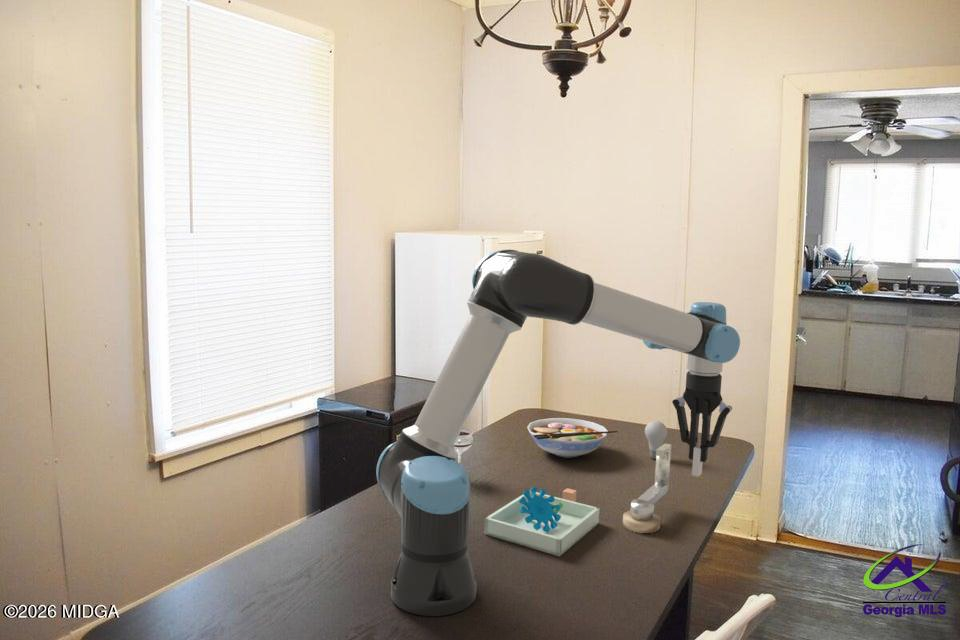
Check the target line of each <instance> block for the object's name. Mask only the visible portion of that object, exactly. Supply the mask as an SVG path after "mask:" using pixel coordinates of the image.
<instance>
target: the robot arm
mask: <svg viewBox="0 0 960 640" xmlns="http://www.w3.org/2000/svg"><path fill="white" fill-rule="evenodd" d="M471 281H472V283H471V284H472V289H473V291H471V294H470V297H469V299H468V300H467V302H466V305H467V308H468V310H469V316H468V317H467V320H466V322H465V323H464V325H463V328H462V329H461V332H460V334H459V336H458V337H457V340H456V341H455V343H454V345H453V347H452V350H451V351H450V353H449V356H448V357H447V360H446V361H445V363H444V365H443V367H442V369H441V372H440V373H439V374H438V377H437V379H436V381H435V383H434V385H433V387H432V388H431V391H430V393H429V395H428V396H427V399H426V401H425V402H424V404H423V407H422V409H421V411H420V412H419V414H418V417H417V418H416V421H415V423H414V424H413V425H411V426H408V427H405V428H403V429H402V431H401V433H400V434H399V436H398V437H397V438H398V439H397V440H396V441H395V442H393V443H390V444H389V445H388V446H387V447H385V448H384V450H383V451H381V454H380V456H379V458H378V459H377V460H378V461H377V464H376V468H375V469H376V473H375V474H376V475H375V476H376V481H377V483H378V486H379V488H380V490H381V493H382V494H383V496H384V497H385V499H387V501H389V503H390V504H391V505H392V507H393V509H395V511H396V512H397V513H398V515H399V517H400V518H401V519H400V520H401V536H400V537H401V541H400V542H401V548H400V549H401V552H400V555H399V558H398V561H397V563H396V566H395V569H394V572H393V575H392V577H391V580H390V598H391V601H392V603H393V604H394V605H395V606H396V607H398V608H399V609H401V610H403V611H405V612H407V613H410V614H413V615H417V616H423V617H424V616H425V617H442V616H443V617H444V616H450V615H453V614H456V613H460V612H461V611H464V610H466V609H467V608H469V607H470V606H471V605H472V604H473V603H474V602H475V600H476V598H477V579H476V577H475V574H474V570H473V567H472V563H471V559H470V556H469V554H468V552H469V551H468V548H469V547H468V546H469V545H468V544H469V521H470V520H469V518H470V516H469V514H470V496H471V485H470V477H469V473H468V470H466V467H464V466H463V465H462V464H461V462H460V463H458V461H456V459H457V458H458V454H457V453H456V451H455V448H454V444H455V442H456V440H457V438H458V436H459V434H460V432H461V430H462V428H463V427H464V426H465V424H466V421H467V419H468V418H469V416H470V414H471V411H472V410H473V408H474V406H475V404H476V402H477V400H478V398H479V395H480V394H481V392H482V390H483V388H484V386H485V384H486V382H487V379H488V378H489V376H490V373H491V372H492V370H493V368H494V366H495V364H496V362H497V360H498V358H499V356H500V354H501V352H502V350H503V348H504V346H505V345H506V342H507V341H508V338H509V336H510V335H511V334H512V333H515V332H518V331H521V330H522V328H523V325H524V323H525V322H526V319H527V318H528V317H529V318H536V319H543V320H550V321H556V322H557V321H558V322H561V323H565V324H569V325H573V326H575V325H578V324H581V323H585V324H587V325H592V326H593V327H598V328H600V329H601V328H602V329H604V330H608V331H611V332H615V333H617V334H622V335H625V336H628V337H630V338H631V337H632V338H634V339H638V340H642V342H643V344H644V345H645V346H646V347H647V348H648V349H650V350H651V349H652V350H663V349H665V350H666V349H667V350H669V349H670V350H672V351H676V352H679V353H682V354H687V360H686V361H687V362H686V363H687V364H686V369H687V370H688V371H687V372H686V375H685V377H686V378H685V389H684V392H682V393H683V394H682V396H680V397H676V398H675V399H673V400H672V404H673V406H674V408H675V410H676V415H677V421H678V427H679V435H680V439H681V442H683V443H686V444H687V445H688V447H689V449H688V458H689V460H691V461H692V466H691V467H692V468H691V476H694V477H700V476H701V475H702V474H703V473H702V472H703V463H706V461H708V453H709V448H715V446H716V445H717V444H718V442H719V439H720V437H721V433H722V431H723V427H724V424H725V421H726V418H727V416H728V415H729V414H730V412H731V411H733V407H732V406H731V405H727V404H726V402H724V401H723V396H722V394H721V393H722V392H721V390H722V378H723V376H722V374H721V373H722V372H723V364H726V363H728V362H730V361H732V360H733V359H734V358H735V357H736V356H737V355H738V352H739V350H740V347H741V338H740V335H739V332H738V331H737V330H736V328H734V327H733V326H730V325H727V307H726V306H725V305H724V304H722V303H717V302H708V301H706V302H705V301H704V302H703V301H697V302H693V303H692V304H691V306H690V310H689V312H685V311H681V310H679V309H676V308H672V307H669V306H666V305H663V304H661V303H658V302H655V301H652V300H648V299H646V298H642V297H639V296H636V295H633V294H630V293H627V292H625V291H622V290H618V289H615V288H613V287H610V286H606V285H603V284H600V283H597V282H595V280H594V279H593V276H591V275H590V274H588V273H585V272H582V271H579V270H577V269H574V268H572V267H570V266H568V265H565V264H563V263H560V262H559V261H556V260H554V259H553V258H550V257H548V256H545V255H543V254H540V253H539V254H538V253H530V252H524V251H519V250H517V249H501V250H496V251H493V252H490V253H488V254H487V255H485V256H484V257H483V258H482V259H480V261H479V262H478V263H477V264H476V267H475V268H474V270H473V274H472V279H471ZM685 405H687V407H688V408H689V410H690V423H688V419H687V413H686V408H685ZM718 407H719V410H718V412H719V415H718V417H717V420H716V422H715V426H714V428H713V431H712V433H711V421H712V415H713V412H714V411H715V410H717V408H718ZM700 415H701V419H702V424H701V437H700V444H698V443H699V427H700V426H699V425H700ZM689 424H690V425H689ZM688 425H689V426H690V427H689V426H688ZM463 429H464V428H463Z"/></svg>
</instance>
